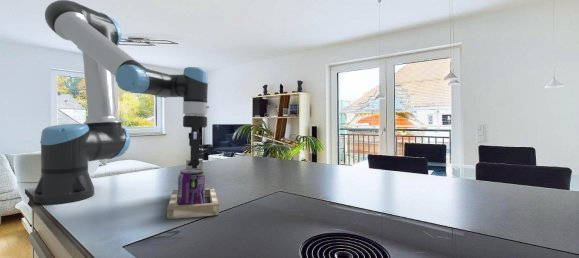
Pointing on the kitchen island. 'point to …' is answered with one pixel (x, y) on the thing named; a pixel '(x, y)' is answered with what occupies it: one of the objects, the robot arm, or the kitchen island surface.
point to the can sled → (193, 209)
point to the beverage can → (191, 186)
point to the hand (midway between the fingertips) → (194, 182)
